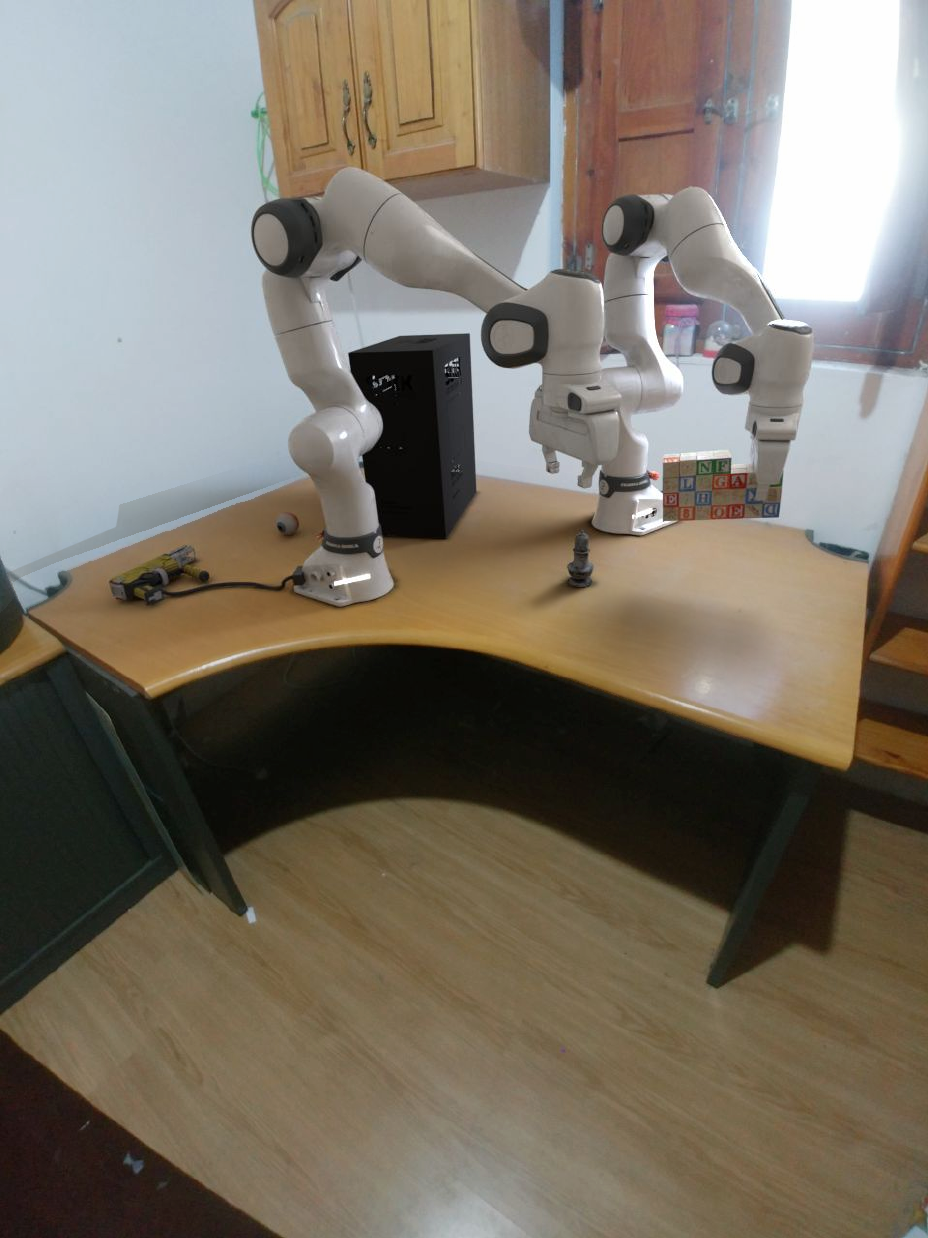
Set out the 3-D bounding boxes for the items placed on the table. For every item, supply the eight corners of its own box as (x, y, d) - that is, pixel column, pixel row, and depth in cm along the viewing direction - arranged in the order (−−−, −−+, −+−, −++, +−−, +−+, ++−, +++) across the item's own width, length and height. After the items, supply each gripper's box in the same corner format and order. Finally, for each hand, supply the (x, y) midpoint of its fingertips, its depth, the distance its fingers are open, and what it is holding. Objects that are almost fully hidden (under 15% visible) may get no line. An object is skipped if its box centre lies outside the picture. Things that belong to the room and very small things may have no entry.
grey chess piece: (593, 587, 128) (596, 535, 122) (565, 586, 130) (567, 534, 124) (593, 575, 133) (596, 524, 127) (566, 574, 135) (568, 524, 129)
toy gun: (232, 553, 147) (182, 542, 151) (158, 593, 127) (102, 580, 131) (234, 570, 150) (185, 559, 154) (162, 613, 130) (107, 599, 134)
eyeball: (273, 537, 164) (268, 516, 161) (287, 528, 169) (282, 508, 166) (291, 539, 161) (286, 518, 158) (305, 530, 166) (301, 510, 163)
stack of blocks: (776, 507, 120) (782, 445, 114) (779, 518, 115) (786, 454, 109) (663, 511, 128) (663, 453, 122) (661, 521, 122) (662, 461, 117)
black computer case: (446, 538, 156) (432, 350, 134) (372, 535, 161) (348, 352, 138) (476, 491, 188) (469, 333, 165) (414, 490, 192) (399, 335, 170)
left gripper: (519, 384, 99) (520, 467, 106) (592, 403, 83) (587, 499, 90) (552, 380, 102) (550, 461, 109) (629, 397, 85) (621, 492, 92)
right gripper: (749, 408, 120) (737, 476, 126) (757, 432, 103) (743, 509, 110) (784, 408, 118) (770, 478, 124) (798, 432, 101) (781, 511, 108)
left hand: (567, 479), depth 99 cm, fingers open, 8 cm apart
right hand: (758, 493), depth 117 cm, fingers closed on stack of blocks, 6 cm apart
